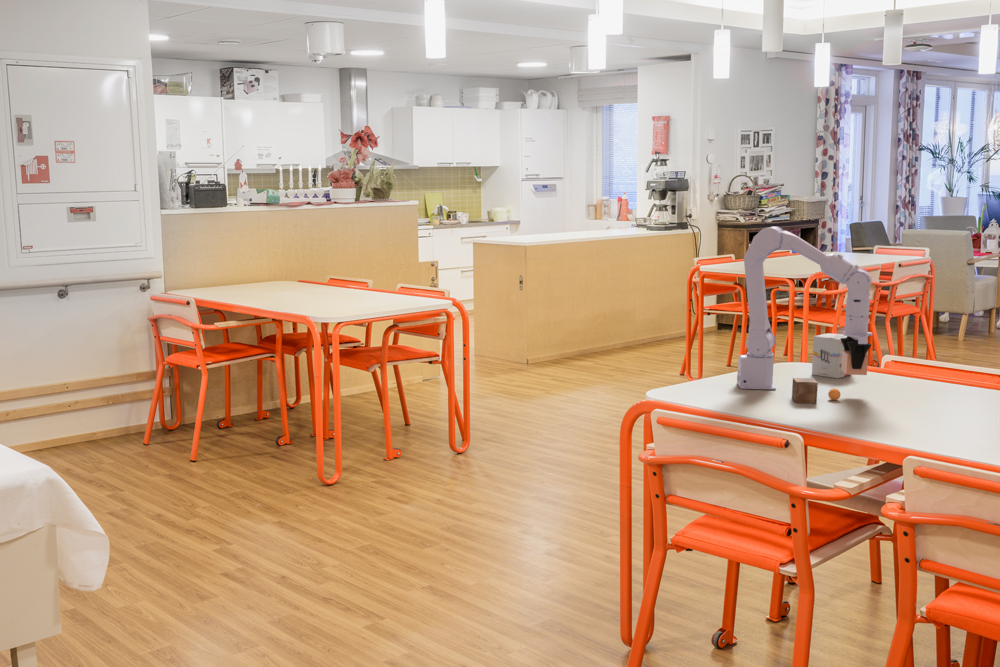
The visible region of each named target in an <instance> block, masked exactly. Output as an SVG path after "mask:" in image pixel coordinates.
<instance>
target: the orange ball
mask: <svg viewBox="0 0 1000 667" xmlns="http://www.w3.org/2000/svg"><path fill="white" fill-rule="evenodd" d="M827 395H828V398H829V400H831V401H837V400H839V399H840V398H841V391H840V390H839V389H837V388H832V389H829V391H828V393H827Z"/></svg>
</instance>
